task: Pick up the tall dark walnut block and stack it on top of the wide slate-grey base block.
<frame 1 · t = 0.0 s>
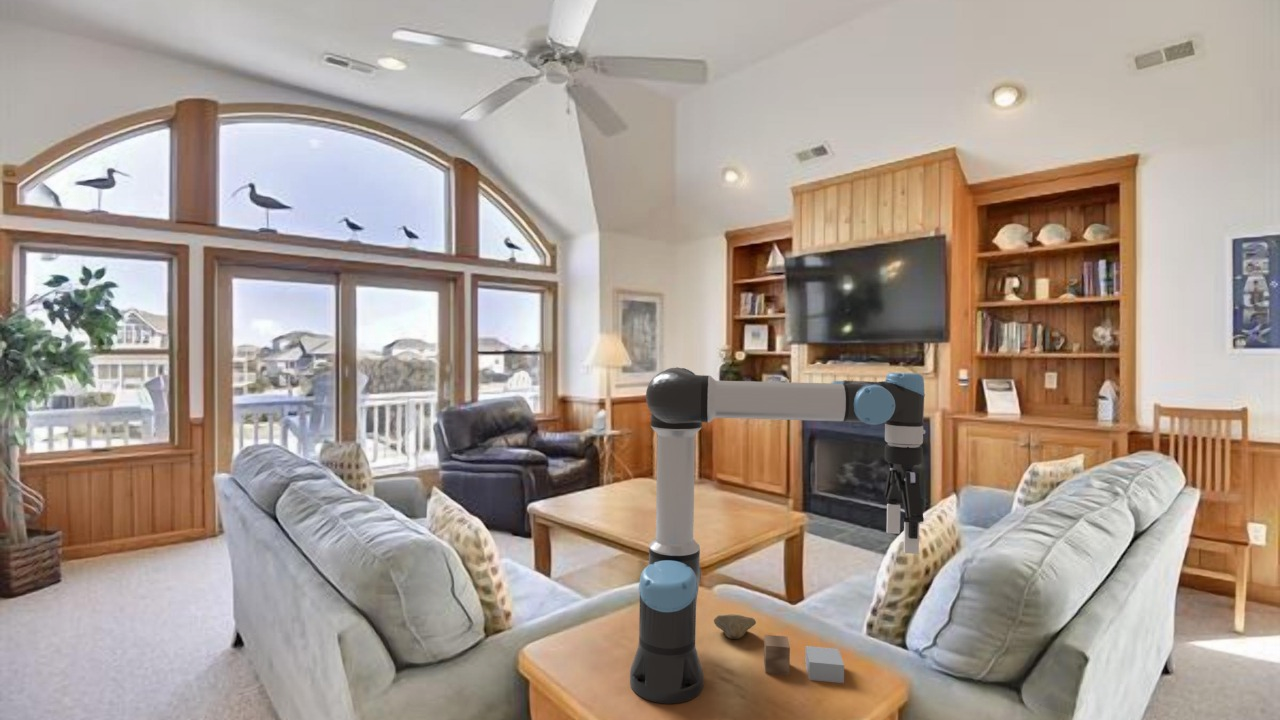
hand: (901, 542, 129), 28 cm above the table, fingers open, 13 cm apart
walnut block: (776, 668, 130), on the table
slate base: (823, 673, 128), on the table
fossil: (734, 637, 144), on the table
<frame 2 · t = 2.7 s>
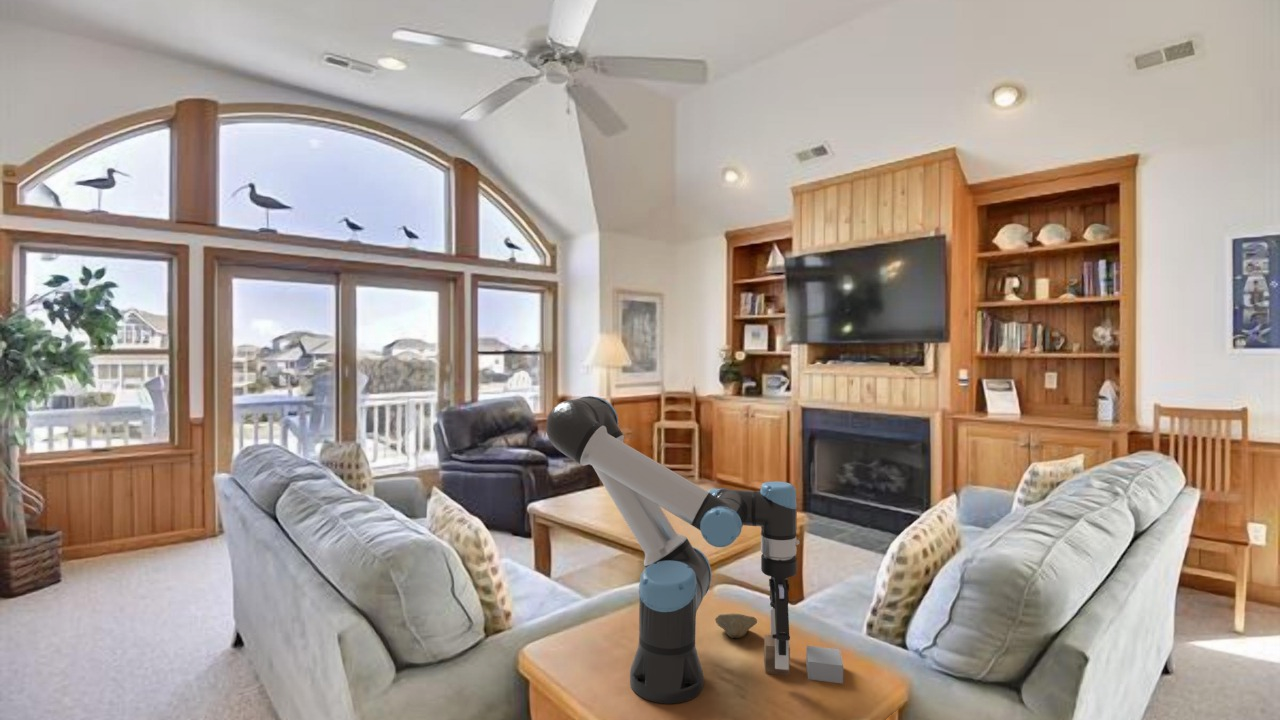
hand: (779, 652, 130), 4 cm above the table, fingers open, 13 cm apart
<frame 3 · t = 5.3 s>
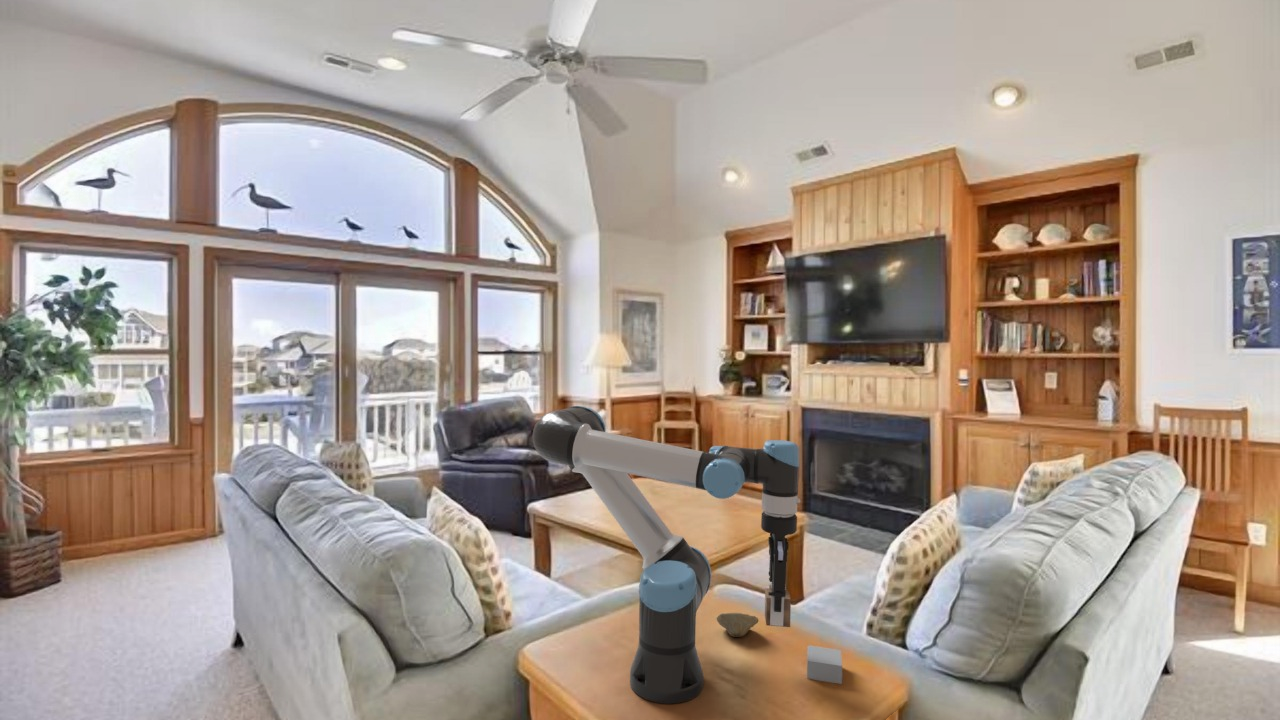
hand: (775, 618, 130), 11 cm above the table, fingers closed on walnut block, 5 cm apart
walnut block: (777, 621, 130), point 10 cm above the table, touching gripper
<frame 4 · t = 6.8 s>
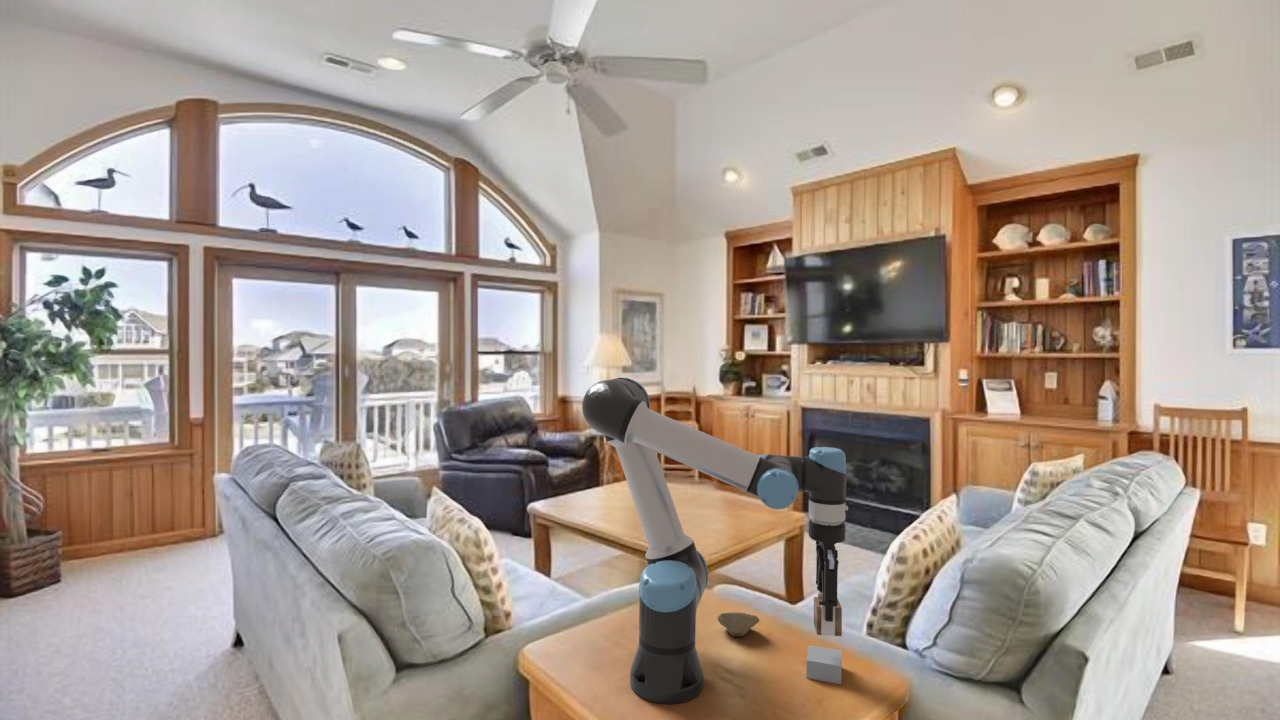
hand: (825, 628, 128), 10 cm above the table, fingers closed on walnut block, 5 cm apart
walnut block: (827, 630, 128), point 9 cm above the table, touching gripper
when the fingers open (4 cm above the table, at t = 8.4 s): walnut block stays where it is, point 4 cm above the table.
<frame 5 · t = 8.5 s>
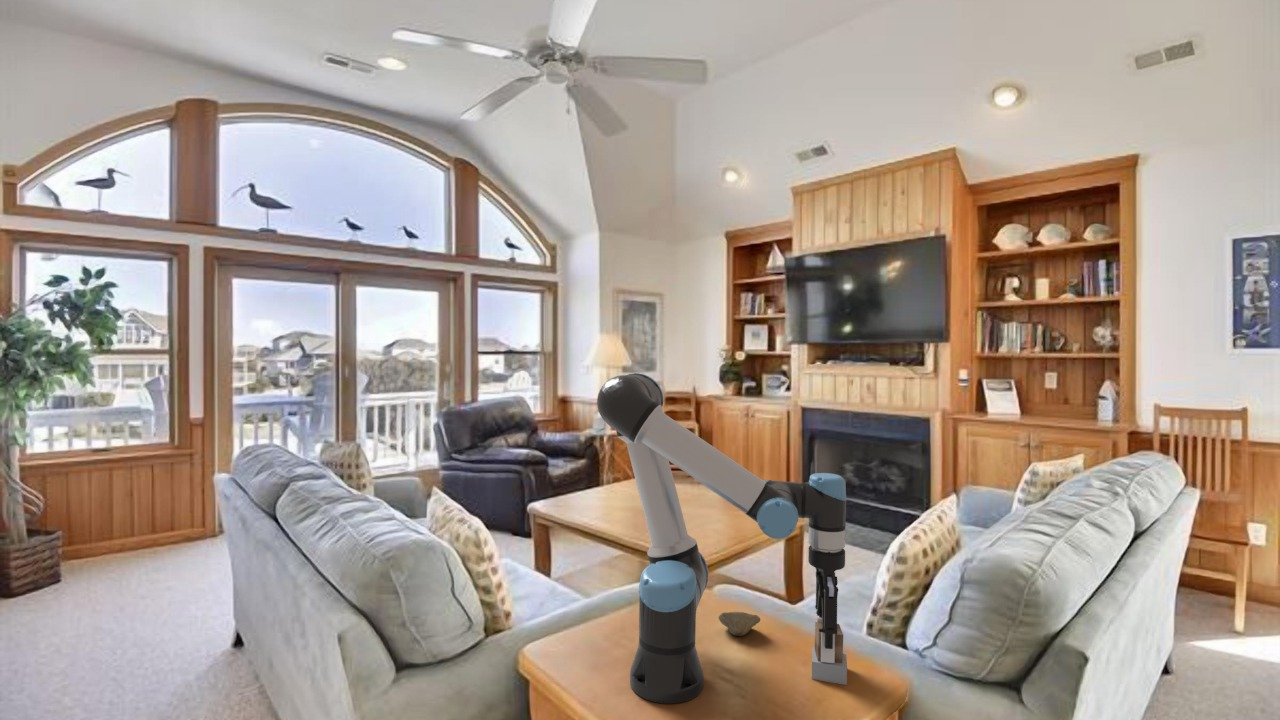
hand: (825, 654, 128), 4 cm above the table, fingers open, 5 cm apart
walnut block: (828, 655, 128), point 4 cm above the table
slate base: (828, 674, 128), on the table
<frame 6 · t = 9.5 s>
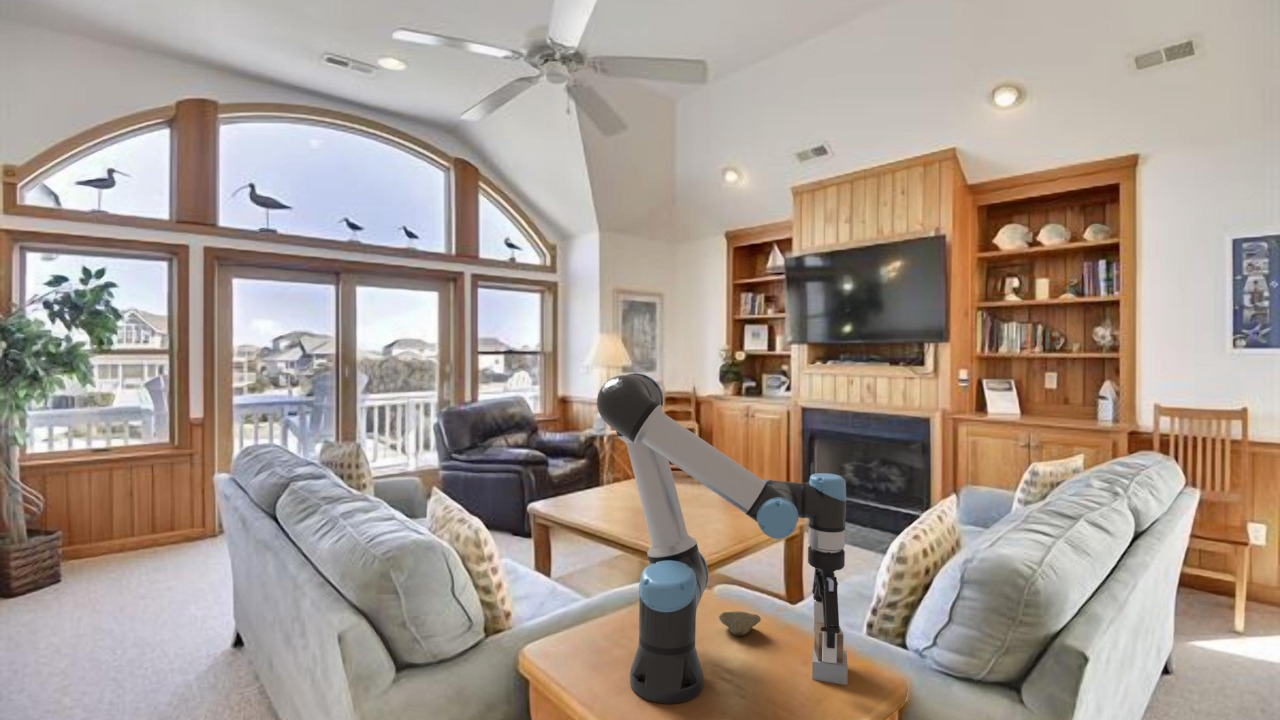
hand: (824, 645, 128), 6 cm above the table, fingers open, 13 cm apart
walnut block: (828, 656, 128), point 4 cm above the table, touching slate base
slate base: (829, 674, 128), on the table, touching walnut block
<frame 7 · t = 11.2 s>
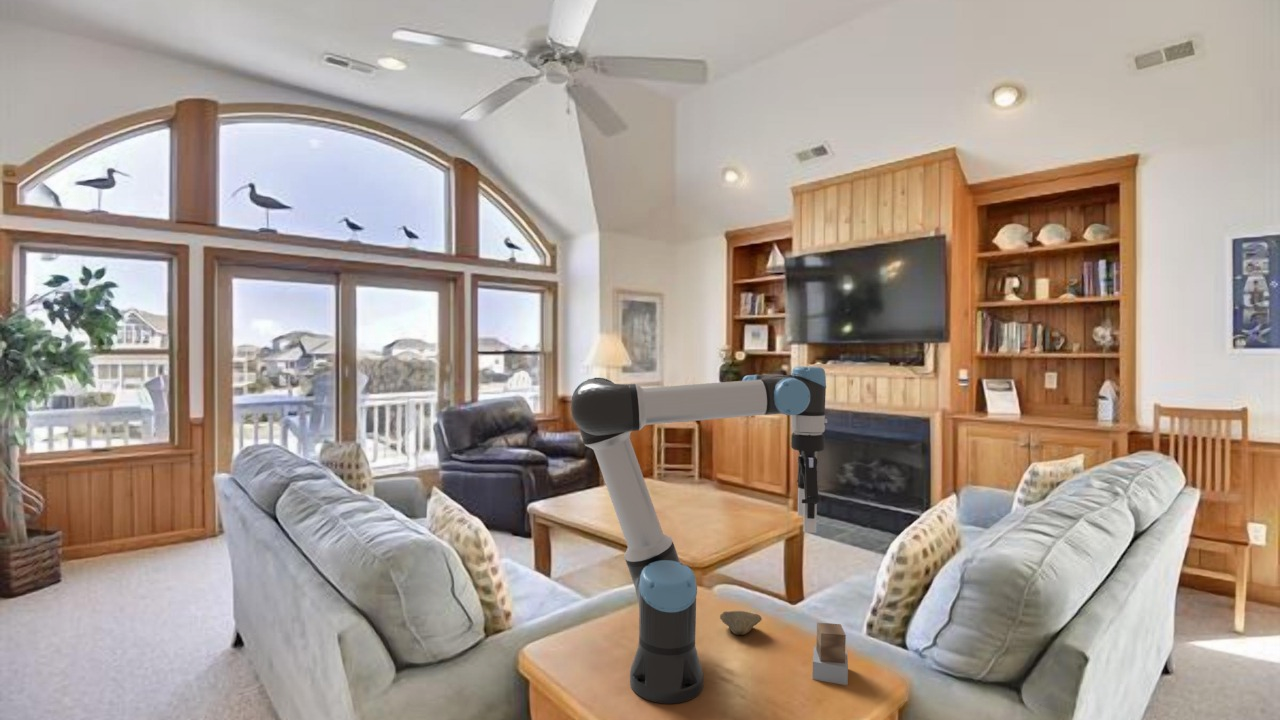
hand: (806, 523, 140), 29 cm above the table, fingers open, 13 cm apart
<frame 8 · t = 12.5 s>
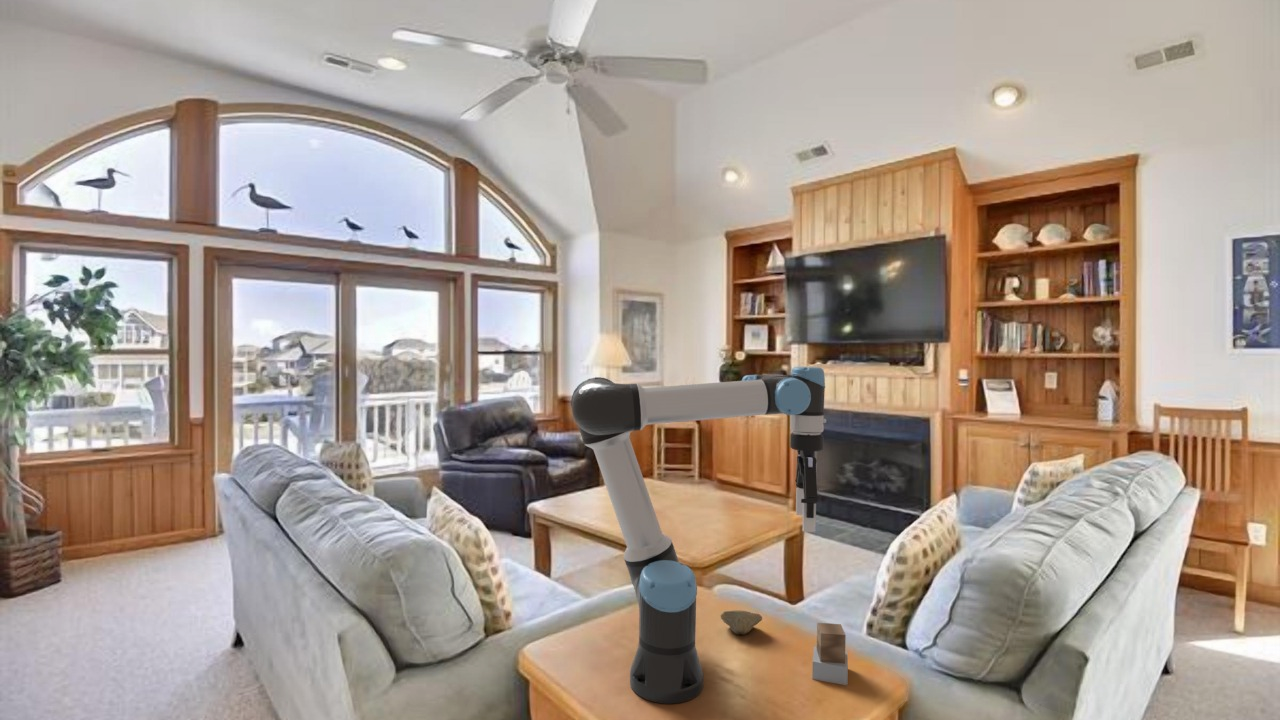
hand: (805, 522, 140), 29 cm above the table, fingers open, 13 cm apart
walnut block: (830, 656, 128), point 4 cm above the table
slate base: (829, 674, 128), on the table
at the end: walnut block 0.1 cm off-centre on the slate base, point 4.0 cm above the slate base's base; walnut block tilted 0°; the gripper is holding nothing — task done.
